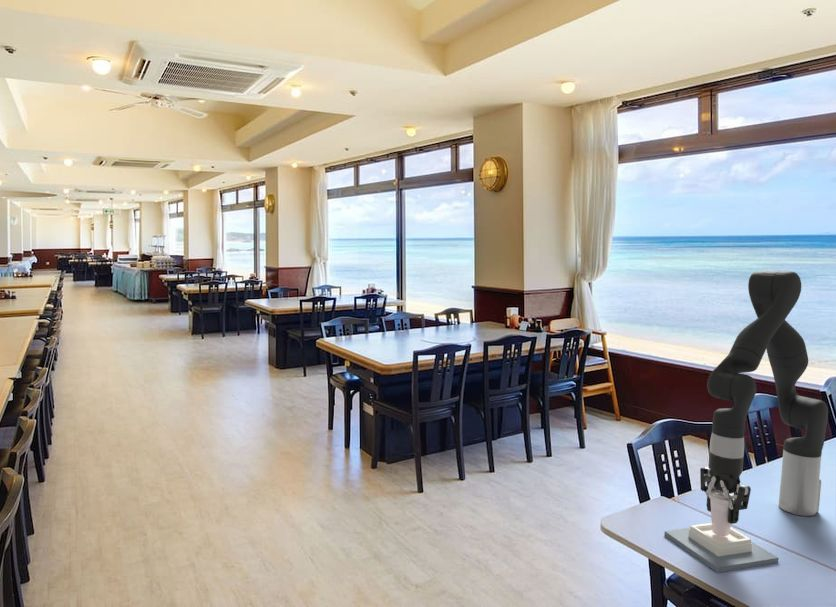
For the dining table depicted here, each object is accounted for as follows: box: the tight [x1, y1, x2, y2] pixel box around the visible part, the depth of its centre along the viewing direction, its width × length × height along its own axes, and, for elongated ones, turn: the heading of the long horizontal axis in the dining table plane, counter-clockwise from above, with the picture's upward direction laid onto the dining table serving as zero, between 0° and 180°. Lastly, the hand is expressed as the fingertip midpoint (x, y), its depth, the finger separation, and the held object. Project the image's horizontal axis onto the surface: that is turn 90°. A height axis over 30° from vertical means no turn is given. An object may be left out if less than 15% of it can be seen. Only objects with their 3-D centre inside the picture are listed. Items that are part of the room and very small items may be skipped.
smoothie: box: [709, 490, 736, 536], centre depth 146 cm, size 6×6×14 cm
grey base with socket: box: [664, 522, 779, 573], centre depth 147 cm, size 18×18×4 cm
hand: (721, 516), depth 147 cm, fingers closed on smoothie, 6 cm apart
